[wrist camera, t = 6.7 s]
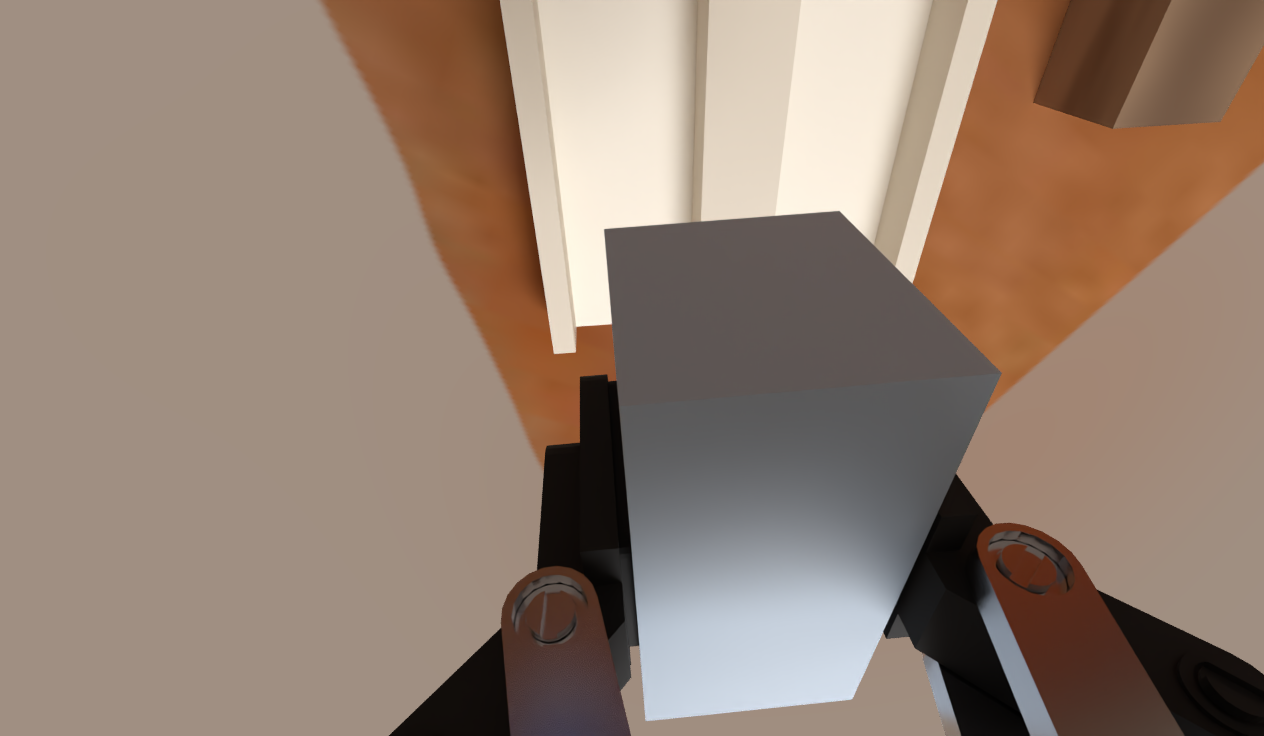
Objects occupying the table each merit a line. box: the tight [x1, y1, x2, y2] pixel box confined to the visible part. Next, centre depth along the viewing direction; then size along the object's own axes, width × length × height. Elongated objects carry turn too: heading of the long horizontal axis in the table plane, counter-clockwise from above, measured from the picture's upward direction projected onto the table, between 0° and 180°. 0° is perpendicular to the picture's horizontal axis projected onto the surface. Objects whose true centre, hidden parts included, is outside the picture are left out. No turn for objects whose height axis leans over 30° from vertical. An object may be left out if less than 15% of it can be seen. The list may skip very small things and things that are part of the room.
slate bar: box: [604, 211, 1001, 721], centre depth 10 cm, size 4×8×4 cm, turn 3°
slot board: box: [500, 0, 997, 354], centre depth 23 cm, size 16×14×3 cm
